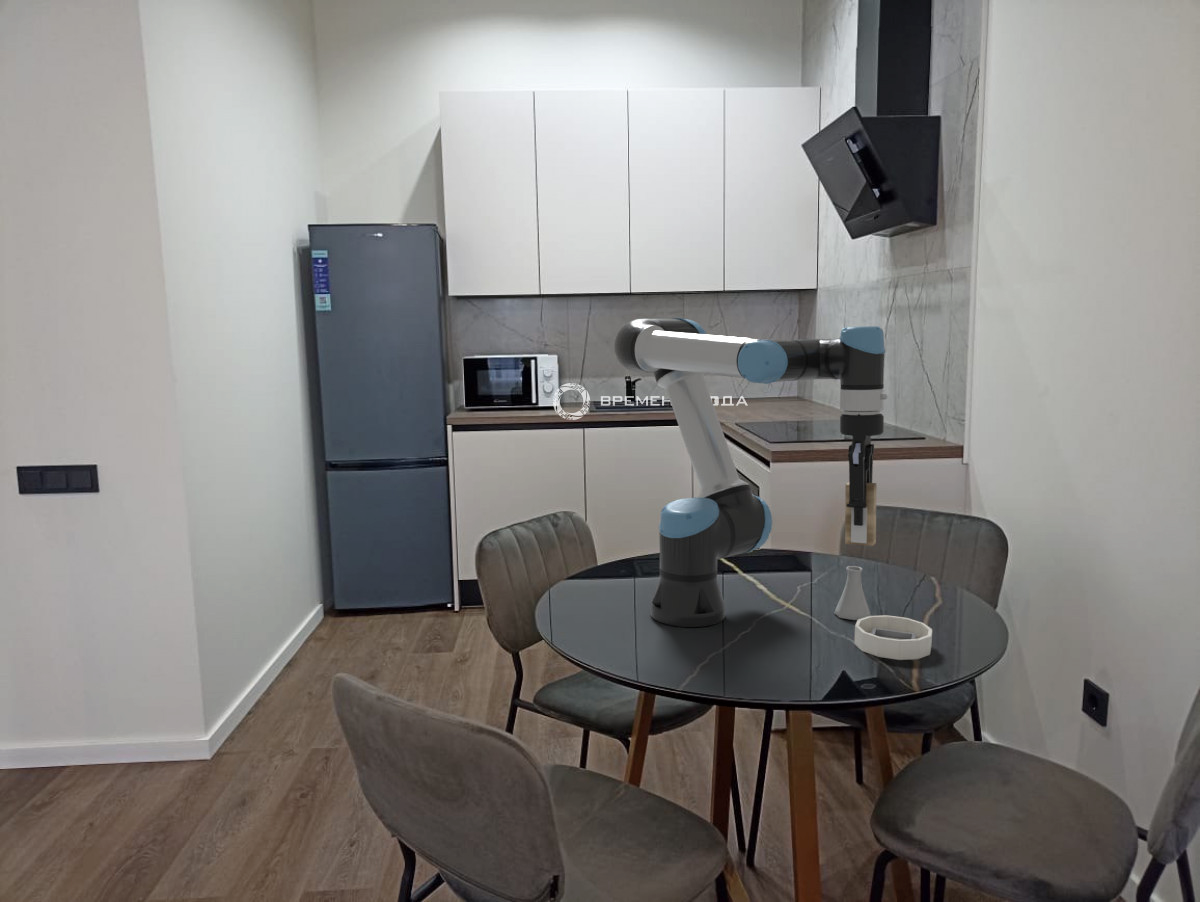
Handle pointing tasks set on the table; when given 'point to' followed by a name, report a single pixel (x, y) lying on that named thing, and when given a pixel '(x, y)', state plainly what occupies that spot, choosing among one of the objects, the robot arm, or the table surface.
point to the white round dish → (893, 637)
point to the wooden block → (870, 515)
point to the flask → (853, 597)
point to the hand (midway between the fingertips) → (860, 539)
